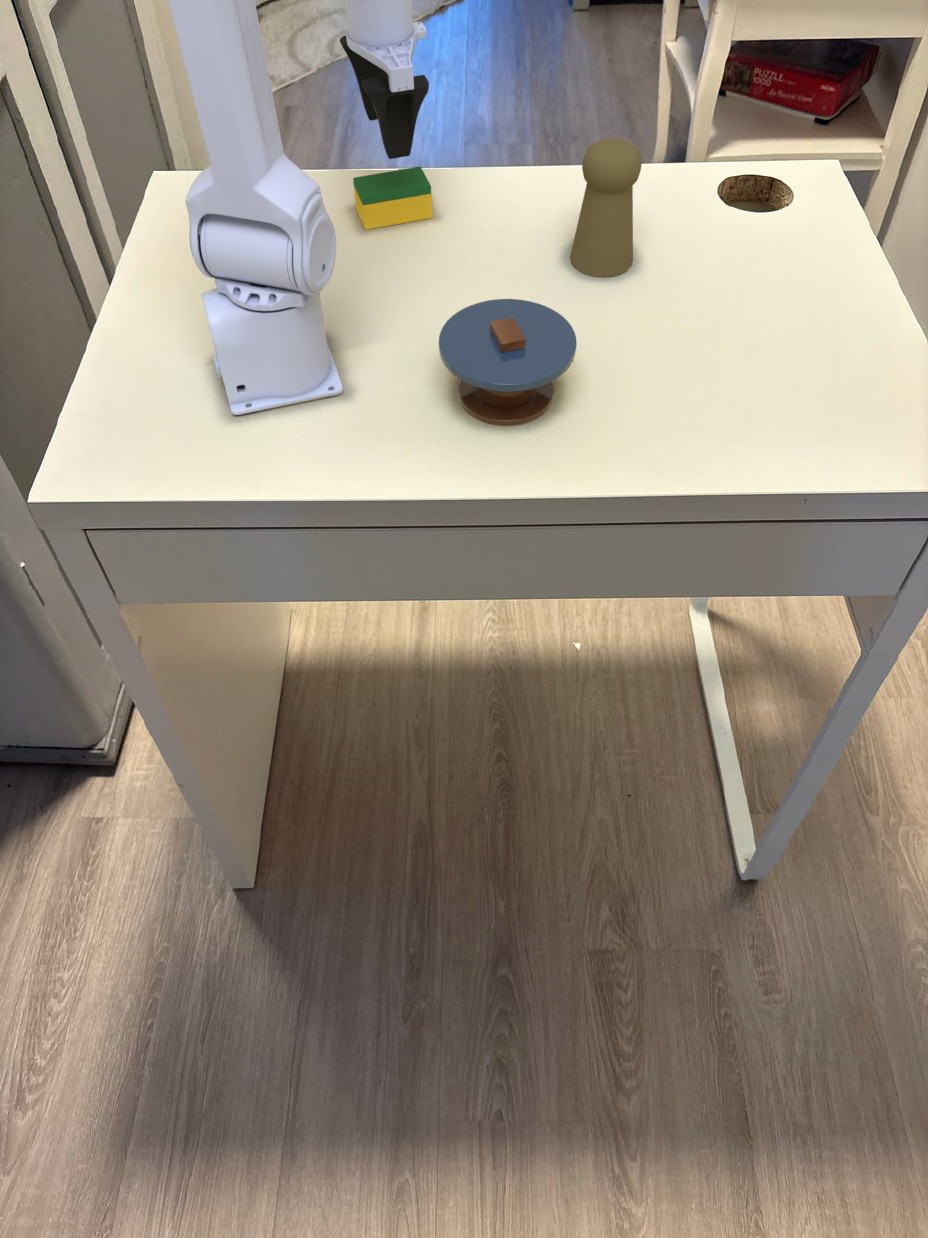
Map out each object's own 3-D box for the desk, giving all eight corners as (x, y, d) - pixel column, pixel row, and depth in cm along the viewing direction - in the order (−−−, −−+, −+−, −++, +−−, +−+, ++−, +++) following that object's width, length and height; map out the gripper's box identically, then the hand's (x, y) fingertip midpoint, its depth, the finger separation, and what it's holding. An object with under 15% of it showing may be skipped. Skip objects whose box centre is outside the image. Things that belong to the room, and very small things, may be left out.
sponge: (365, 229, 98) (362, 197, 95) (356, 209, 100) (352, 177, 98) (432, 217, 99) (431, 185, 97) (422, 197, 102) (420, 165, 99)
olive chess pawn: (632, 242, 96) (648, 129, 87) (633, 278, 93) (649, 164, 84) (571, 239, 97) (580, 127, 88) (568, 275, 93) (578, 162, 84)
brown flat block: (501, 353, 77) (501, 343, 77) (489, 331, 79) (489, 321, 78) (525, 348, 78) (526, 338, 77) (513, 326, 79) (513, 316, 79)
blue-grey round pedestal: (462, 450, 79) (461, 396, 74) (425, 366, 85) (422, 312, 81) (591, 422, 80) (597, 368, 76) (545, 342, 87) (548, 288, 82)
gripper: (446, 2, 79) (450, 166, 90) (400, -62, 88) (409, 95, 99) (361, 14, 78) (375, 179, 89) (323, -52, 87) (340, 106, 97)
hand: (388, 136), depth 94 cm, fingers open, 7 cm apart
